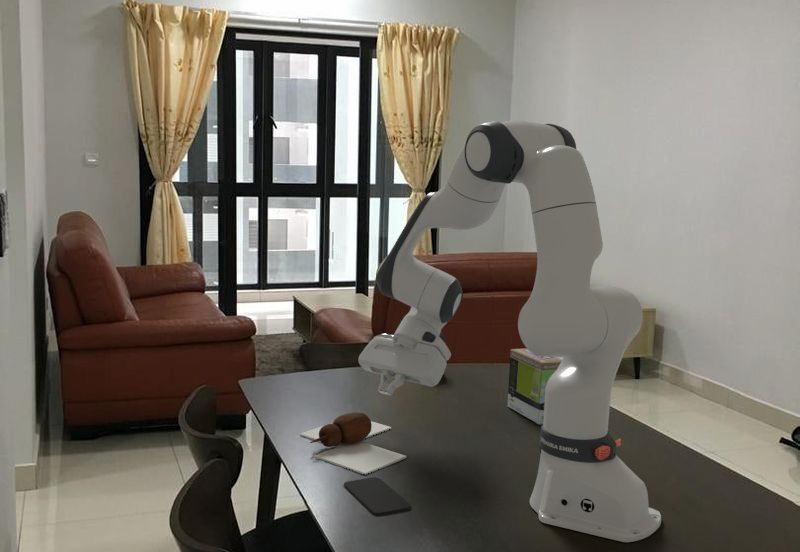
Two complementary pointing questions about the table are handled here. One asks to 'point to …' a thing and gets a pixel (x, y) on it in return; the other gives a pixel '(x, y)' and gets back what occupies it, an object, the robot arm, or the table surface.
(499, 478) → the table surface
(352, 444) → the mat side
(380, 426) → the mat front
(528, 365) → the tea box
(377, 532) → the table surface
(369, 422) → the wooden figurine
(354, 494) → the phone
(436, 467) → the table surface
